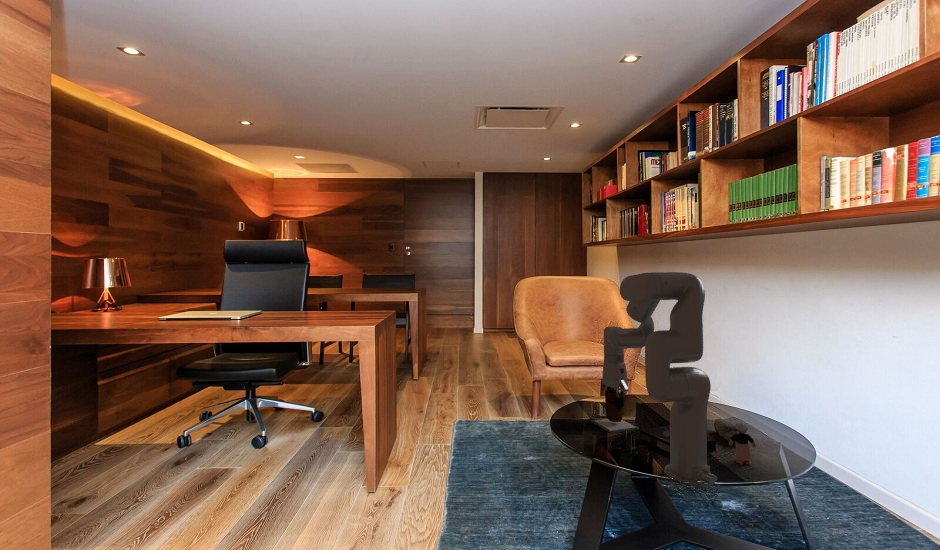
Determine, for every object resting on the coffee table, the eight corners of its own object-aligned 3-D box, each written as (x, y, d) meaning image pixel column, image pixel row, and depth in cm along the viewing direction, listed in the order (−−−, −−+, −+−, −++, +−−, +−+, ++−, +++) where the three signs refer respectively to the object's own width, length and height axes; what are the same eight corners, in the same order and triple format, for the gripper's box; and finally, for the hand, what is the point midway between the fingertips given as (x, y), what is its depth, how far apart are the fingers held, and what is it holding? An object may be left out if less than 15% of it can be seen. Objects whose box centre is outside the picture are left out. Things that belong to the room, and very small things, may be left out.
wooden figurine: (604, 421, 161) (603, 383, 161) (606, 417, 166) (606, 380, 166) (622, 424, 158) (622, 385, 158) (624, 420, 163) (624, 381, 163)
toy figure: (749, 459, 131) (748, 419, 131) (758, 465, 127) (757, 423, 127) (725, 460, 131) (725, 419, 131) (733, 465, 127) (733, 424, 127)
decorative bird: (724, 432, 155) (724, 412, 155) (747, 450, 139) (746, 428, 139) (709, 432, 155) (709, 412, 156) (729, 449, 140) (729, 427, 140)
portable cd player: (639, 441, 147) (639, 430, 147) (675, 434, 153) (675, 424, 153) (676, 460, 132) (676, 447, 132) (715, 452, 138) (715, 440, 138)
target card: (639, 429, 158) (639, 427, 158) (610, 433, 154) (610, 431, 154) (617, 418, 170) (617, 416, 170) (590, 421, 166) (590, 420, 166)
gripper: (637, 361, 155) (637, 410, 155) (608, 354, 172) (608, 397, 171) (620, 363, 153) (620, 412, 153) (592, 355, 169) (593, 399, 169)
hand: (614, 404), depth 162 cm, fingers closed on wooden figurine, 5 cm apart
